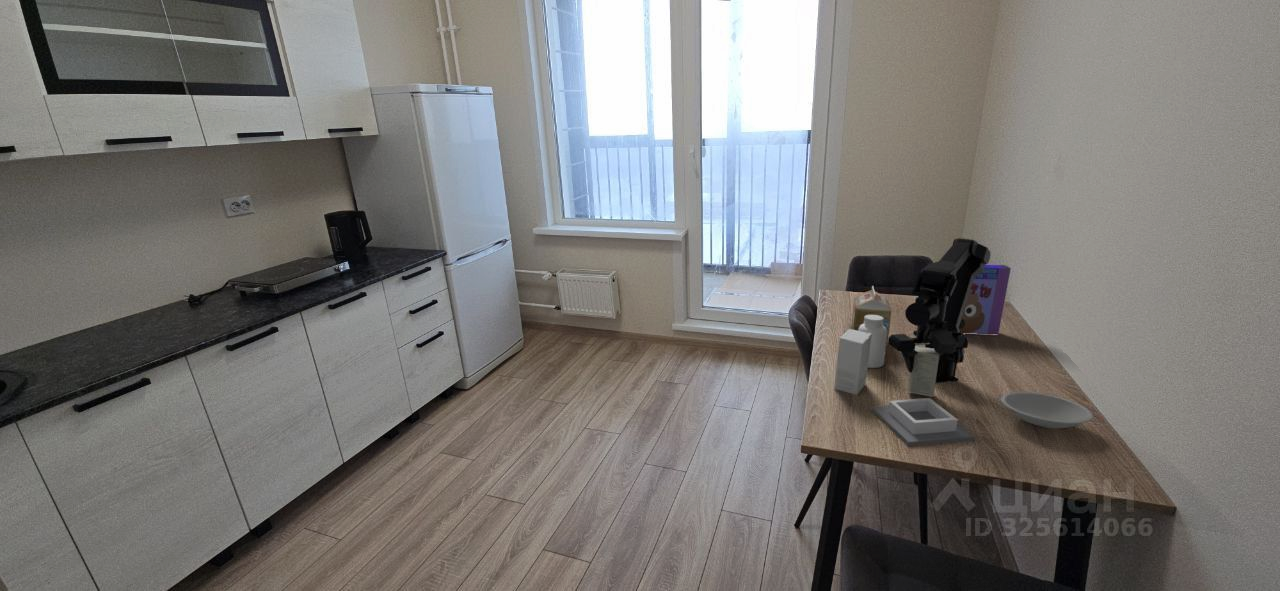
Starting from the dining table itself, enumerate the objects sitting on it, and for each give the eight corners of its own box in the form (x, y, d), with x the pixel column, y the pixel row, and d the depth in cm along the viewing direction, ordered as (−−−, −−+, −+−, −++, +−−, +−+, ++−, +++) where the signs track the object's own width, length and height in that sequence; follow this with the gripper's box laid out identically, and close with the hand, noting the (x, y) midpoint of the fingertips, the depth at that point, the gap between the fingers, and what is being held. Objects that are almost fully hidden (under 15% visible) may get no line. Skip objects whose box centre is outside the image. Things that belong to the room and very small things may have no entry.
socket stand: (930, 406, 135) (932, 392, 134) (974, 440, 119) (977, 425, 118) (871, 410, 133) (872, 396, 132) (908, 445, 118) (910, 430, 117)
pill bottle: (857, 356, 165) (862, 311, 161) (885, 361, 162) (890, 315, 157) (853, 365, 159) (857, 319, 155) (881, 370, 155) (887, 323, 151)
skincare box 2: (934, 391, 140) (941, 349, 137) (933, 397, 137) (940, 355, 133) (908, 385, 144) (914, 344, 140) (906, 392, 140) (912, 350, 136)
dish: (1008, 435, 121) (1012, 416, 120) (989, 405, 134) (993, 388, 133) (1100, 447, 116) (1106, 427, 114) (1071, 415, 129) (1076, 396, 127)
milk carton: (850, 337, 181) (855, 284, 175) (883, 340, 177) (890, 286, 172) (851, 348, 171) (856, 293, 166) (886, 352, 168) (893, 296, 162)
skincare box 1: (843, 378, 151) (848, 328, 146) (867, 384, 147) (873, 333, 142) (833, 389, 145) (838, 337, 140) (857, 396, 141) (863, 342, 136)
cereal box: (942, 333, 182) (953, 266, 175) (937, 329, 186) (947, 263, 179) (997, 335, 179) (1010, 267, 171) (991, 331, 183) (1003, 264, 176)
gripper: (916, 328, 125) (907, 387, 130) (988, 324, 127) (978, 382, 132) (890, 313, 136) (883, 368, 141) (957, 309, 138) (949, 364, 142)
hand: (923, 371), depth 138 cm, fingers closed on skincare box 2, 7 cm apart
